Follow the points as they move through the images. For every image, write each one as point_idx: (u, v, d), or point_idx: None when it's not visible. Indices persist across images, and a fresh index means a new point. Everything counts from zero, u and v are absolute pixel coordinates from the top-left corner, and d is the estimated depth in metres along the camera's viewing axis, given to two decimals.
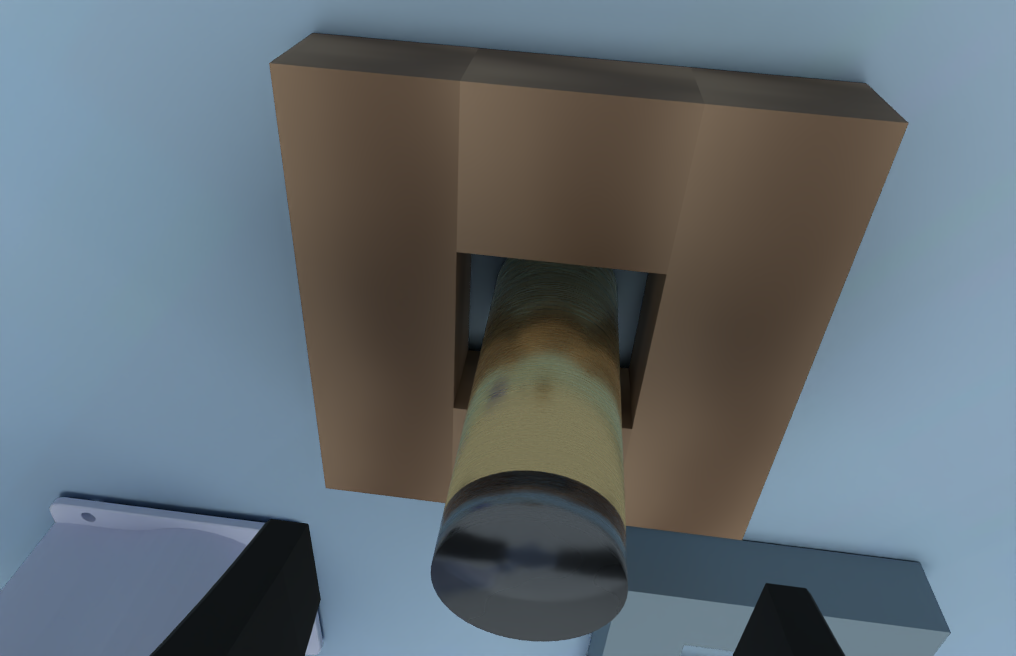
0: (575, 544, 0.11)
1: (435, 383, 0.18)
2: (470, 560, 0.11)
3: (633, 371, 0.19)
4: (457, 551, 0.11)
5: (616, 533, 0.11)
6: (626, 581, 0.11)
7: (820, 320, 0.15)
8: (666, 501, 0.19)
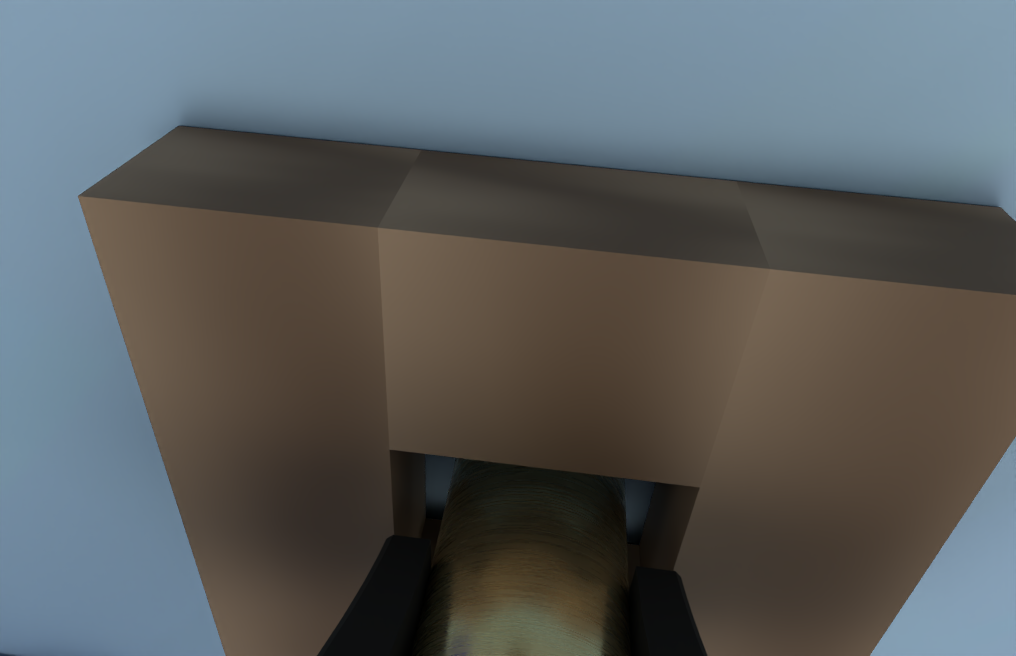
0: None
1: None
2: None
3: (646, 563, 0.14)
4: None
5: None
6: None
7: (925, 550, 0.10)
8: None
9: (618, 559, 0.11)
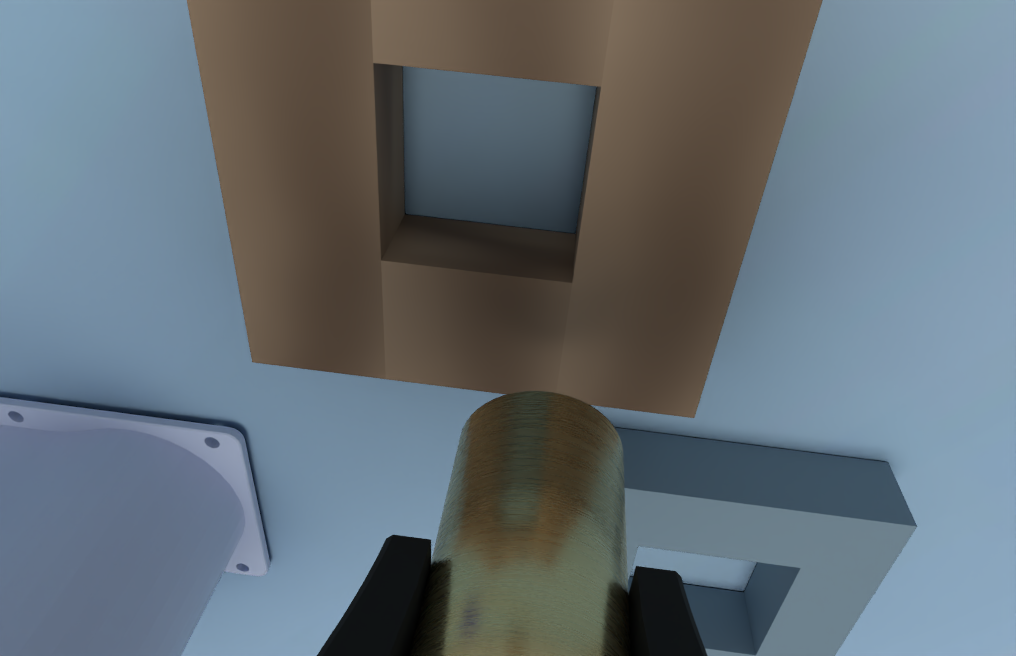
0: None
1: (360, 230, 0.16)
2: None
3: (577, 228, 0.18)
4: None
5: None
6: None
7: (769, 141, 0.14)
8: (612, 371, 0.18)
9: (617, 557, 0.11)
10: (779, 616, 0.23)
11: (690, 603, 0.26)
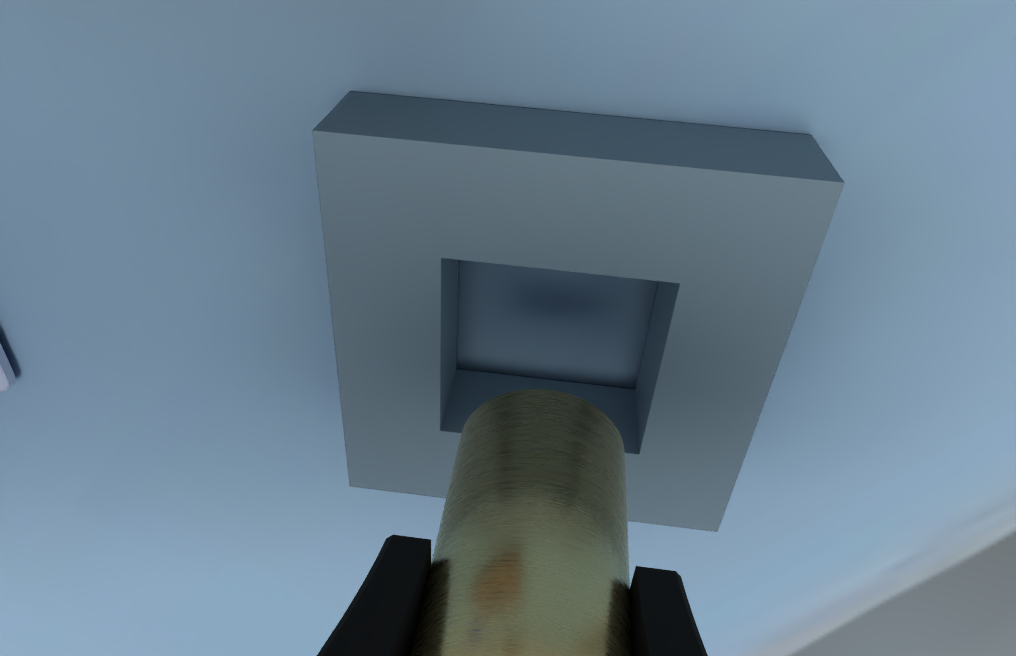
0: None
1: None
2: None
3: None
4: None
5: None
6: None
7: None
8: None
9: (617, 554, 0.11)
10: (661, 380, 0.16)
11: None
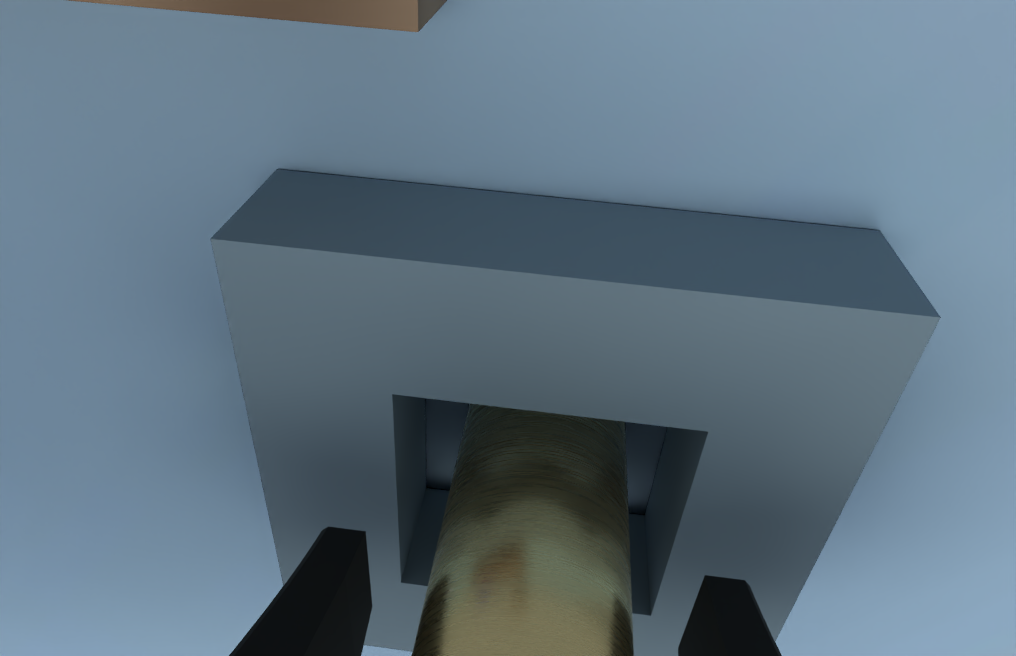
0: None
1: None
2: None
3: None
4: None
5: None
6: None
7: None
8: None
9: (618, 503, 0.12)
10: (680, 538, 0.12)
11: None
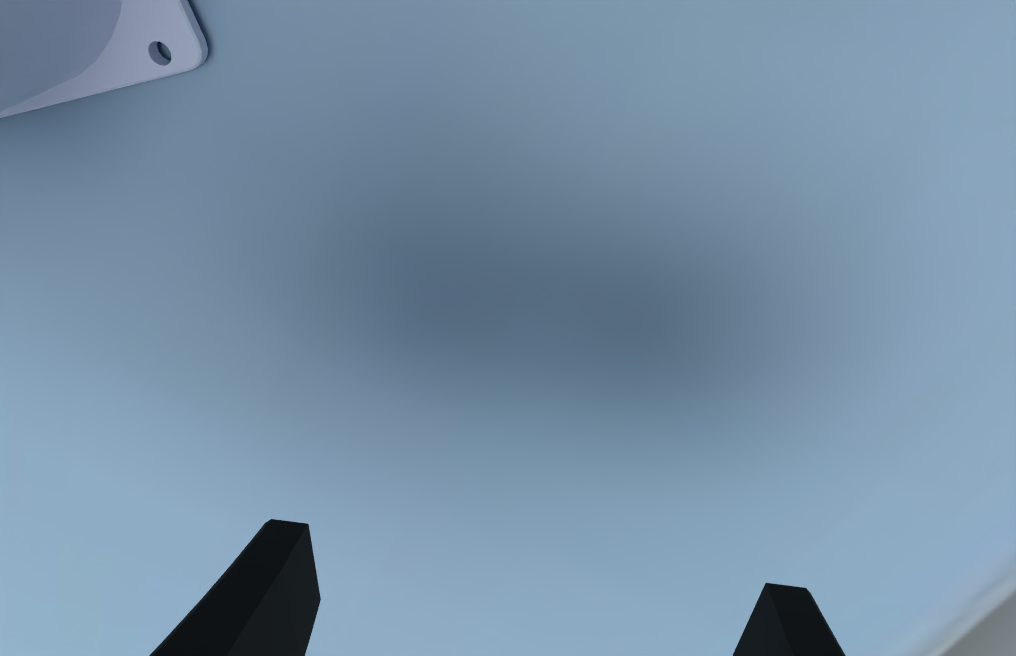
0: None
1: None
2: None
3: None
4: None
5: None
6: None
7: None
8: None
9: None
10: None
11: None
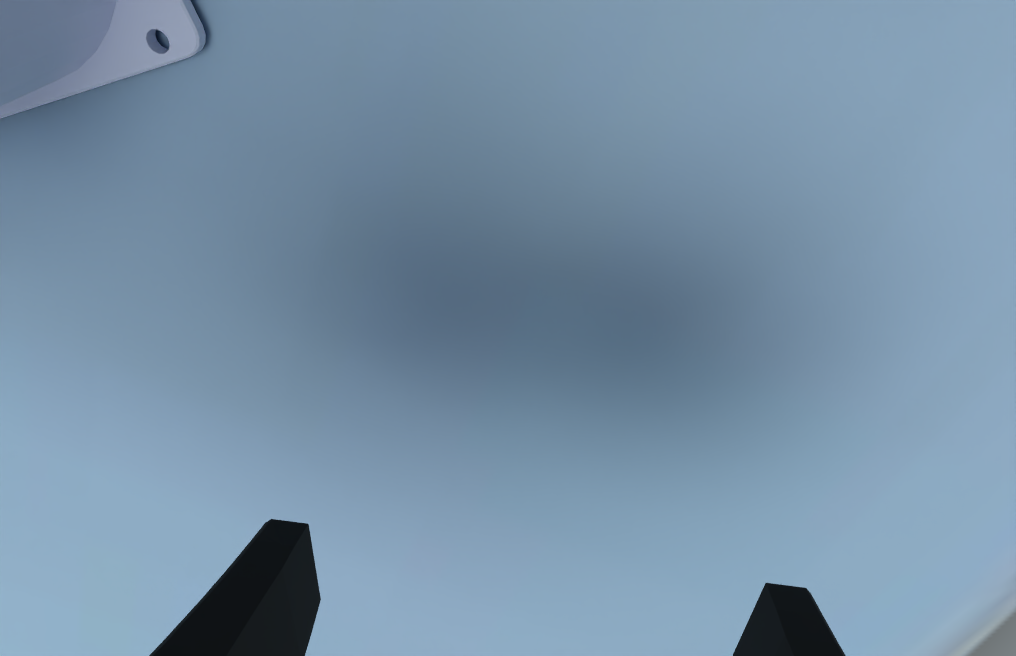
0: None
1: None
2: None
3: None
4: None
5: None
6: None
7: None
8: None
9: None
10: None
11: None
